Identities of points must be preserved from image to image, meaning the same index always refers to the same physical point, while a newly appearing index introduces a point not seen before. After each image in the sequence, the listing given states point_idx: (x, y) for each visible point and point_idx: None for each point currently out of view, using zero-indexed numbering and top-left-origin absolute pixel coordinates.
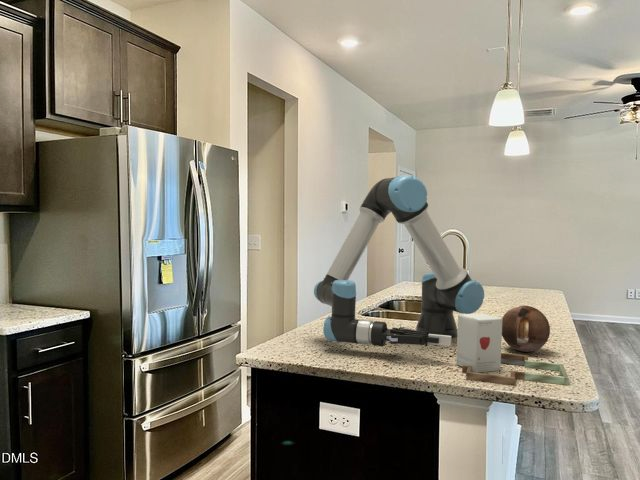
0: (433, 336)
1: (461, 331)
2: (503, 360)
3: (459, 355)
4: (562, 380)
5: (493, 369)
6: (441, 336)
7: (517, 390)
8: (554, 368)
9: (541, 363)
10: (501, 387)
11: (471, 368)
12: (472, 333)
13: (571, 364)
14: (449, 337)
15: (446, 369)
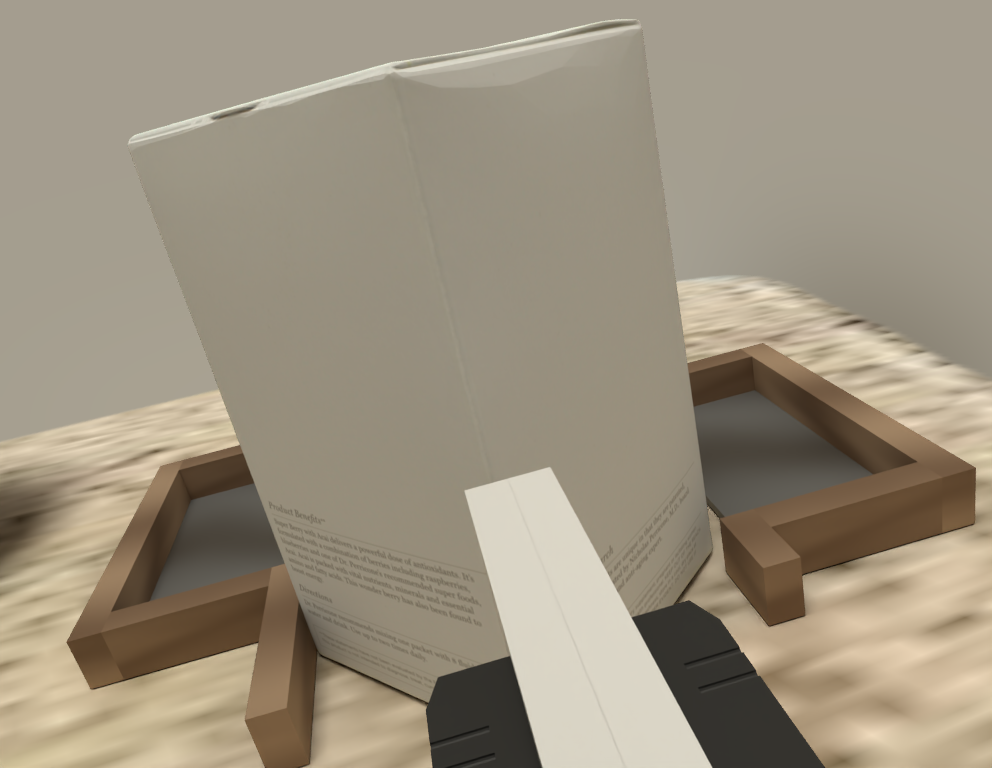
0: (658, 694)
1: (525, 301)
2: (219, 559)
3: None
4: None
5: None
6: (599, 559)
7: (840, 357)
8: None
9: None
10: (877, 391)
11: (789, 501)
12: (636, 214)
13: (181, 414)
14: (559, 486)
15: (865, 762)
